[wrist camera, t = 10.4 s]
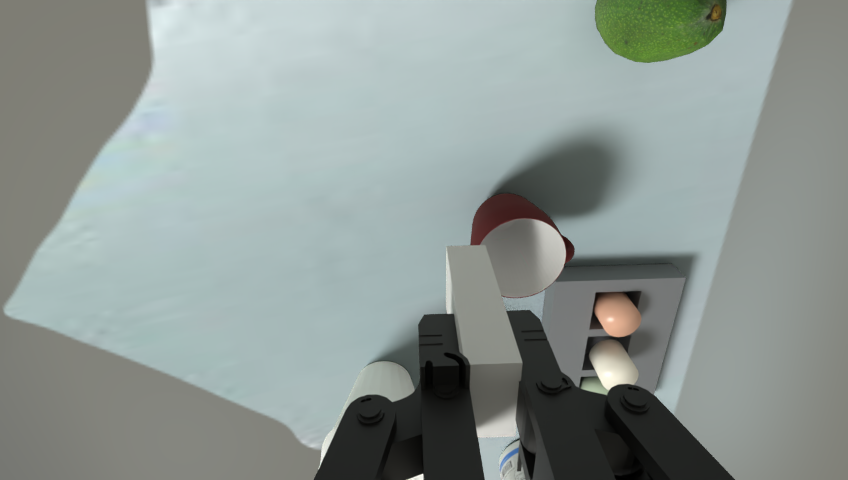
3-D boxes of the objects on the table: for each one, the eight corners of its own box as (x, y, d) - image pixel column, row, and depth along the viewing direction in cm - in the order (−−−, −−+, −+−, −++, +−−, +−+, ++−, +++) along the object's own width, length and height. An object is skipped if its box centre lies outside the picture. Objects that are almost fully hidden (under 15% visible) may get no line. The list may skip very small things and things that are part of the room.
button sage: (578, 368, 58) (590, 392, 55) (611, 366, 58) (624, 390, 55) (574, 392, 60) (585, 416, 57) (605, 391, 60) (618, 415, 57)
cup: (419, 423, 63) (421, 524, 51) (327, 408, 62) (308, 509, 49) (444, 353, 58) (453, 447, 46) (344, 335, 56) (327, 428, 44)
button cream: (591, 340, 54) (604, 364, 50) (626, 338, 54) (641, 362, 50) (586, 366, 56) (599, 392, 52) (620, 365, 56) (634, 390, 52)
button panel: (548, 267, 53) (555, 281, 50) (672, 263, 53) (686, 277, 50) (532, 399, 62) (538, 417, 59) (638, 395, 62) (648, 413, 60)
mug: (570, 185, 48) (607, 227, 40) (549, 253, 52) (578, 306, 43) (470, 171, 47) (485, 211, 39) (455, 241, 51) (465, 293, 42)
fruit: (625, -70, 38) (709, -96, 28) (693, -11, 41) (795, -14, 30) (562, 22, 41) (616, 31, 31) (628, 72, 44) (700, 96, 33)
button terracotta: (593, 286, 53) (606, 307, 49) (628, 285, 53) (644, 305, 50) (588, 315, 55) (601, 337, 51) (622, 314, 55) (637, 336, 51)
